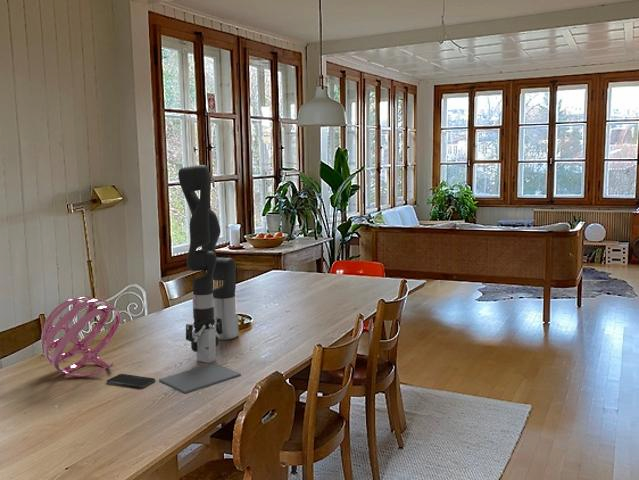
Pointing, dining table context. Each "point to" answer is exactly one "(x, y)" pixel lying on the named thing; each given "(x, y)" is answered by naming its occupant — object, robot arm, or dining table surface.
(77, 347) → the spiral basket
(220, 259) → the robot arm
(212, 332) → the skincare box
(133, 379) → the phone
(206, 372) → the rubber mat
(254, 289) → the dining table surface
